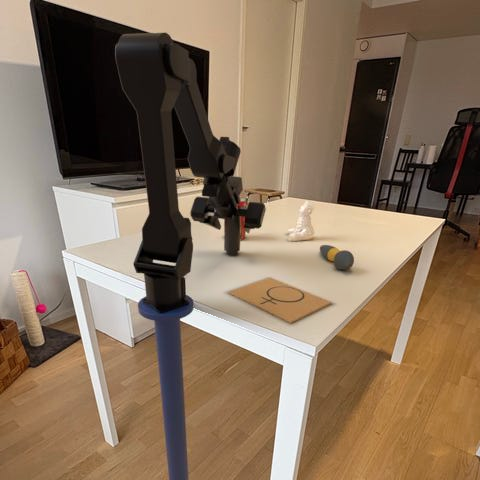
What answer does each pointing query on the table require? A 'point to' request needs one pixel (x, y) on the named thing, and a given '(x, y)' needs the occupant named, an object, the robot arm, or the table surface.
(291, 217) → the table surface
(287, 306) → the sketch card
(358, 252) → the table surface
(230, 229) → the cylinder
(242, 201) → the soda can
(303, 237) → the white creature statuette
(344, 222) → the table surface
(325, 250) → the grey yellow maraca
